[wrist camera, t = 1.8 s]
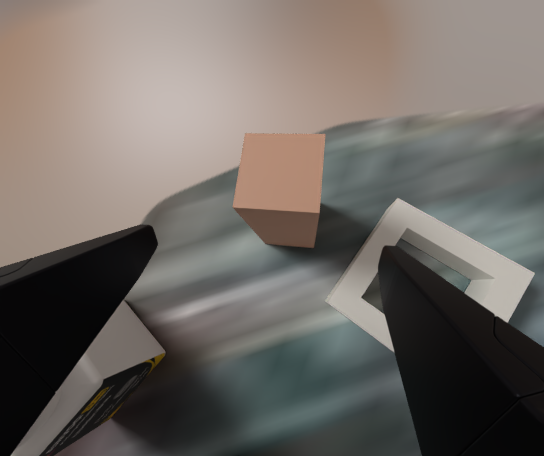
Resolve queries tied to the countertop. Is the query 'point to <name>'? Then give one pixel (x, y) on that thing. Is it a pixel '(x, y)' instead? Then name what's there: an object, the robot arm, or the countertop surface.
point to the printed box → (95, 385)
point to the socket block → (440, 245)
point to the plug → (281, 187)
